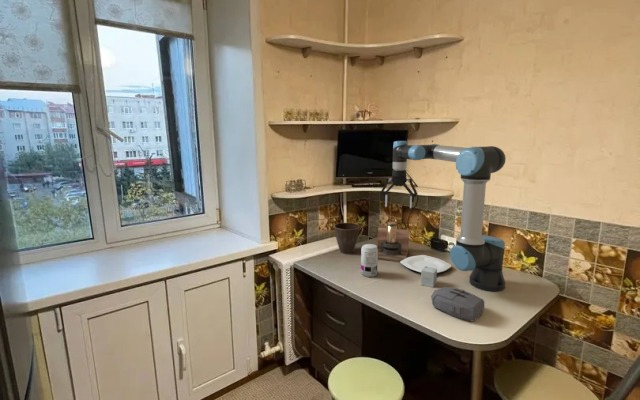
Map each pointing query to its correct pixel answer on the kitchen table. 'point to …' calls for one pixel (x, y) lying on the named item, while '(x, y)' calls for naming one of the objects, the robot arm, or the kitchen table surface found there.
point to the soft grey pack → (458, 303)
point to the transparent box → (400, 246)
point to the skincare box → (428, 276)
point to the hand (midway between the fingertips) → (398, 207)
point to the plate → (425, 263)
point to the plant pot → (346, 236)
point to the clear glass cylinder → (391, 235)
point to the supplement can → (369, 260)
